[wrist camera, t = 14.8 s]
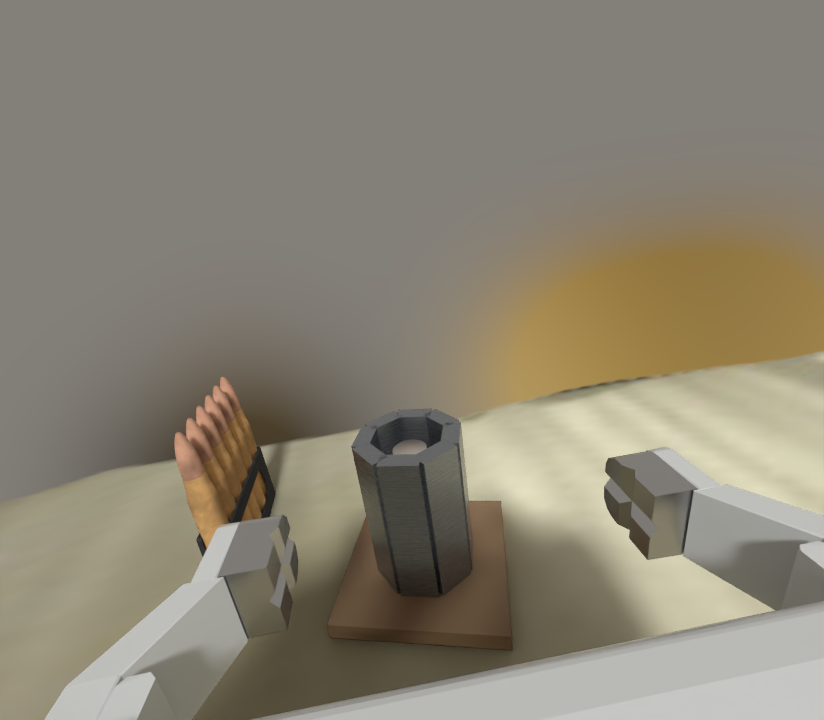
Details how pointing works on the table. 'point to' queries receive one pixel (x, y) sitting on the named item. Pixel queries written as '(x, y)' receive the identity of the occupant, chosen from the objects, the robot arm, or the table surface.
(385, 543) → the grey octagonal tube
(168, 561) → the table surface
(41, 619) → the table surface
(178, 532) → the table surface
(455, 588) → the stand
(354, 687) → the table surface
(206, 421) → the ammunition clip
